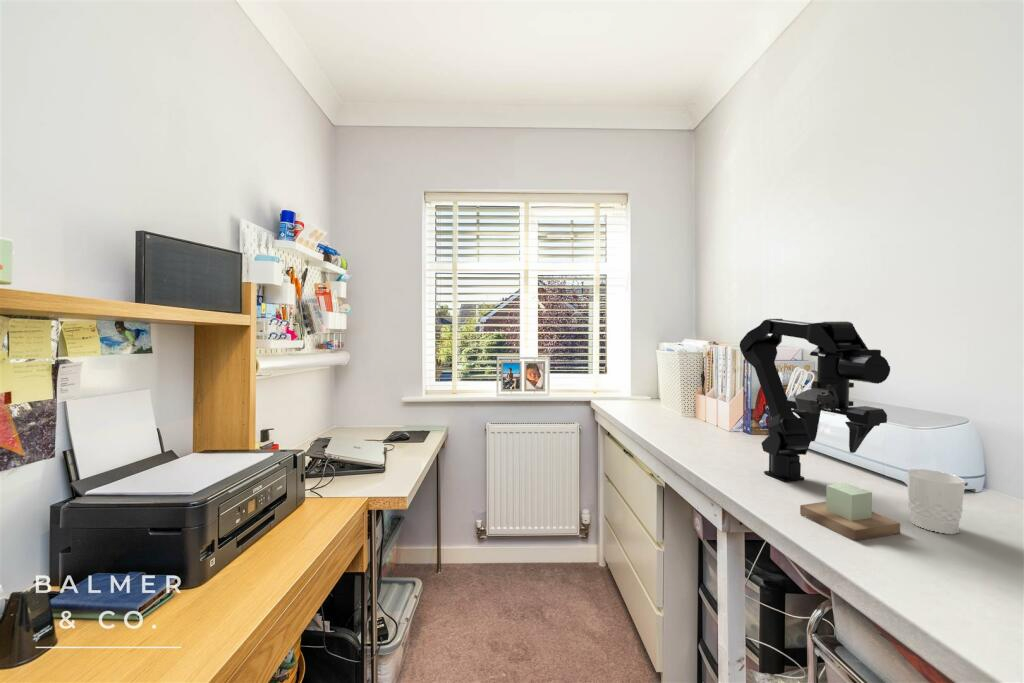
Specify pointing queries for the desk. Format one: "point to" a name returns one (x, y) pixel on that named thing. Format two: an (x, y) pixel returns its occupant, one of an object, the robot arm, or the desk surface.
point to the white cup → (935, 500)
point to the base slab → (851, 523)
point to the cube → (849, 501)
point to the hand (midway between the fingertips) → (831, 446)
